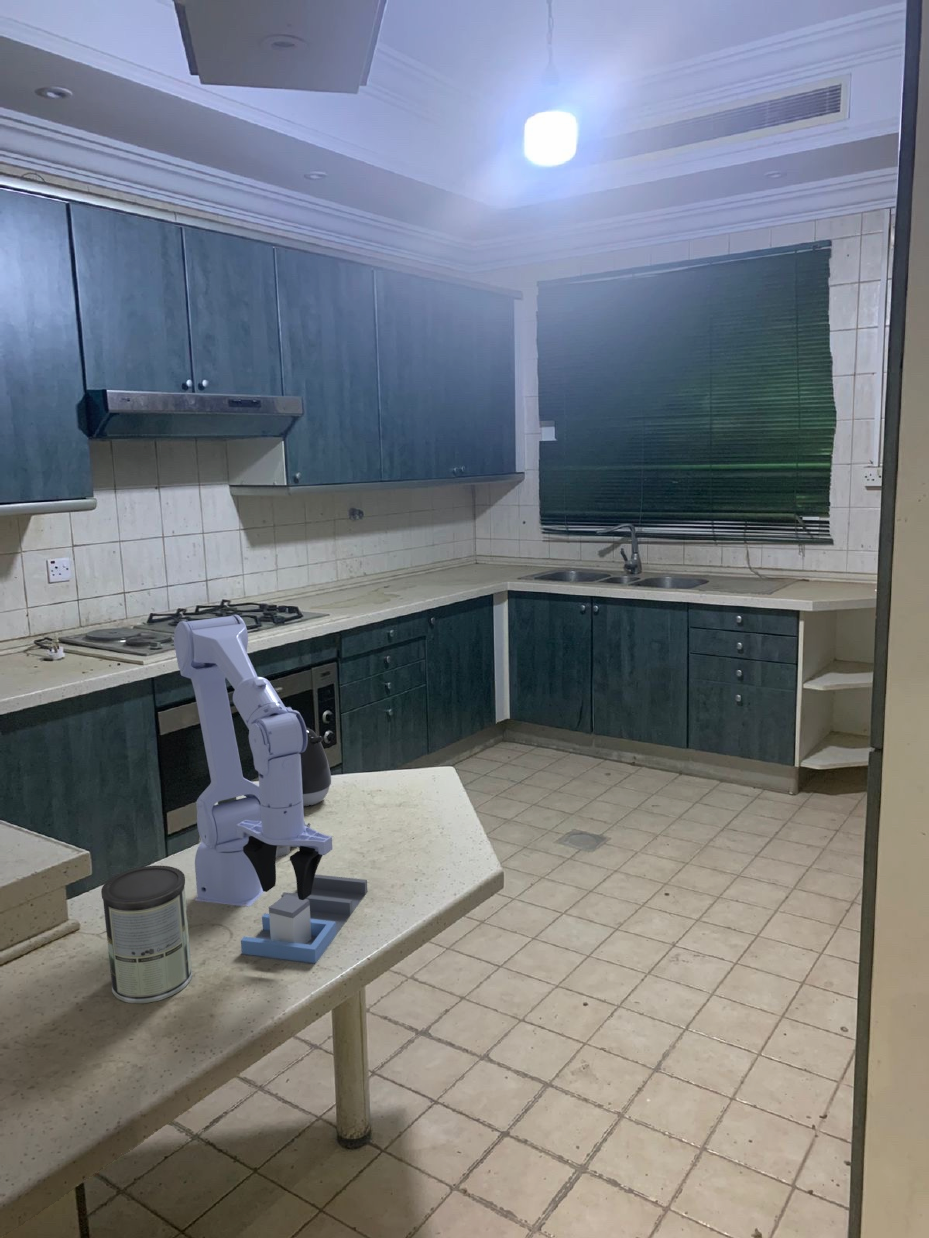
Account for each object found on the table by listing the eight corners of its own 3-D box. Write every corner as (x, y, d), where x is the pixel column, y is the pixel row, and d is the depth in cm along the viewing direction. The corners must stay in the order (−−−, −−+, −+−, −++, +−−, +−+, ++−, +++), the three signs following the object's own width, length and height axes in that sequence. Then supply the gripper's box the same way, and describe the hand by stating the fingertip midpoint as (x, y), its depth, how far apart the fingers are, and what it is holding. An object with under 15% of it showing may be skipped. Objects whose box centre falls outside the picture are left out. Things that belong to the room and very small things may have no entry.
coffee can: (95, 985, 121) (85, 886, 118) (164, 951, 129) (156, 857, 126) (138, 1014, 114) (129, 910, 112) (208, 977, 122) (201, 879, 120)
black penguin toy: (305, 815, 175) (301, 739, 172) (269, 803, 181) (264, 730, 178) (343, 799, 183) (340, 726, 180) (307, 788, 189) (303, 717, 186)
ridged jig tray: (241, 958, 127) (239, 941, 126) (303, 887, 147) (302, 872, 146) (315, 967, 124) (314, 950, 123) (368, 894, 144) (367, 878, 143)
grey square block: (271, 946, 128) (268, 907, 127) (288, 932, 132) (286, 894, 131) (294, 952, 127) (292, 912, 125) (311, 938, 130) (309, 899, 129)
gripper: (342, 797, 125) (346, 889, 128) (256, 782, 131) (262, 870, 134) (313, 816, 119) (318, 912, 122) (224, 800, 125) (230, 892, 128)
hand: (286, 892), depth 127 cm, fingers open, 5 cm apart
